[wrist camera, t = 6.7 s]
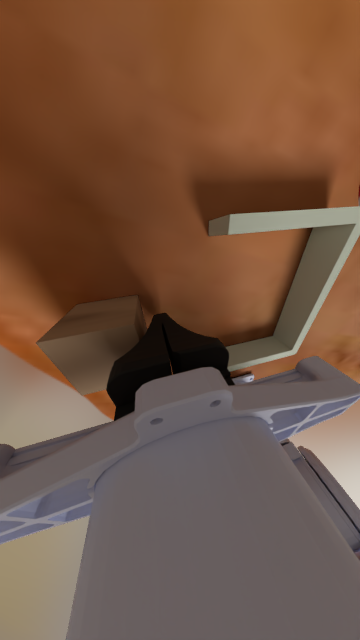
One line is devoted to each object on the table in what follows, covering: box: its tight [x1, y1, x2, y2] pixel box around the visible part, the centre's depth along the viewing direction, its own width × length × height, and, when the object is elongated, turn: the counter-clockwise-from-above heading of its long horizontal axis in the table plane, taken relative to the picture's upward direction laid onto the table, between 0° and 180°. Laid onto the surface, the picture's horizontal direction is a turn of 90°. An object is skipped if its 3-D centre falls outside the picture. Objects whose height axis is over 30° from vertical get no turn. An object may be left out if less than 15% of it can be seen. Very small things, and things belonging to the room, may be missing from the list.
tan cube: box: [36, 295, 147, 395], centre depth 11 cm, size 5×5×5 cm
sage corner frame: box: [209, 206, 360, 372], centre depth 14 cm, size 15×12×3 cm
